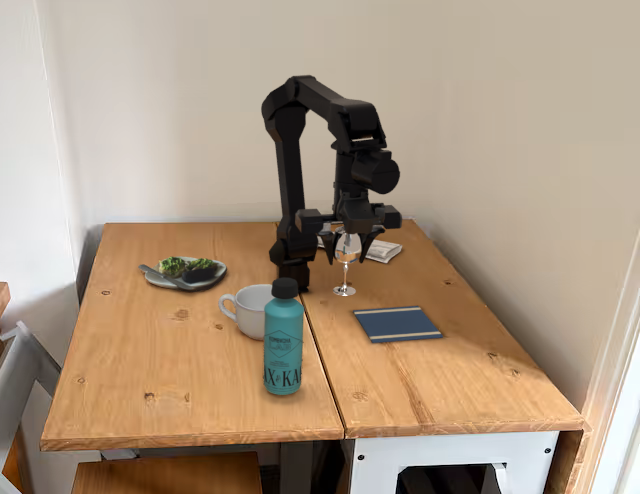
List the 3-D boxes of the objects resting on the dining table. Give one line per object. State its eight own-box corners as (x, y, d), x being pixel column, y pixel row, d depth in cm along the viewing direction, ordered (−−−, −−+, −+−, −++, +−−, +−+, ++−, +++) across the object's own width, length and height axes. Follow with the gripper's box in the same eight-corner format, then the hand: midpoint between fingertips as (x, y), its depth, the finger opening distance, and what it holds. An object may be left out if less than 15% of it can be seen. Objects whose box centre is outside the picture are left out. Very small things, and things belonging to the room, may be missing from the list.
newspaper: (301, 247, 178) (301, 237, 177) (324, 238, 188) (325, 228, 186) (384, 264, 168) (385, 254, 167) (404, 254, 177) (405, 244, 176)
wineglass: (357, 298, 134) (362, 236, 128) (327, 295, 135) (330, 234, 129) (360, 286, 139) (365, 226, 132) (331, 284, 140) (334, 224, 133)
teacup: (298, 326, 140) (299, 288, 136) (280, 350, 131) (281, 310, 127) (232, 315, 144) (231, 278, 140) (211, 338, 135) (209, 299, 131)
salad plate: (121, 286, 156) (119, 266, 154) (159, 258, 170) (158, 240, 168) (202, 299, 151) (201, 278, 148) (234, 269, 165) (234, 250, 162)
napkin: (372, 343, 134) (372, 341, 134) (352, 311, 146) (352, 310, 146) (442, 337, 137) (443, 335, 136) (417, 307, 148) (418, 305, 148)
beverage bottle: (261, 383, 121) (261, 273, 111) (300, 382, 122) (303, 272, 111) (264, 404, 116) (263, 289, 105) (304, 402, 116) (308, 288, 106)
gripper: (309, 195, 117) (306, 283, 126) (417, 190, 121) (407, 276, 129) (295, 177, 127) (293, 260, 135) (395, 173, 130) (388, 255, 138)
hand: (345, 263), depth 134 cm, fingers closed on wineglass, 5 cm apart
